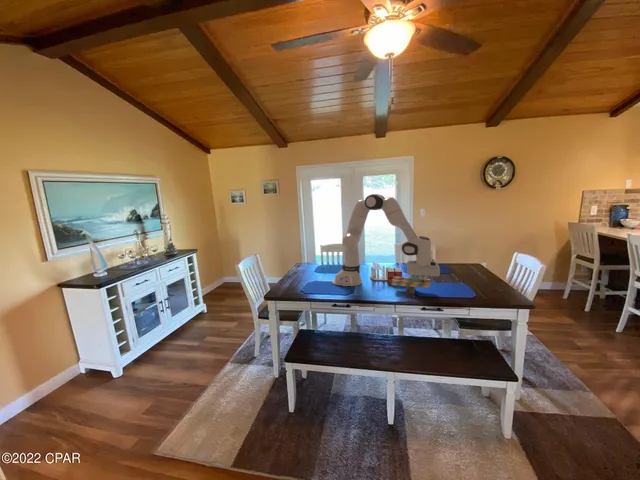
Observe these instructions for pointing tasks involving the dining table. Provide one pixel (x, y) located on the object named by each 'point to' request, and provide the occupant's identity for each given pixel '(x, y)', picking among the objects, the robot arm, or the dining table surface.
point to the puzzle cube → (393, 274)
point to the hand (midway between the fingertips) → (422, 281)
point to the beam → (410, 283)
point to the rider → (415, 278)
